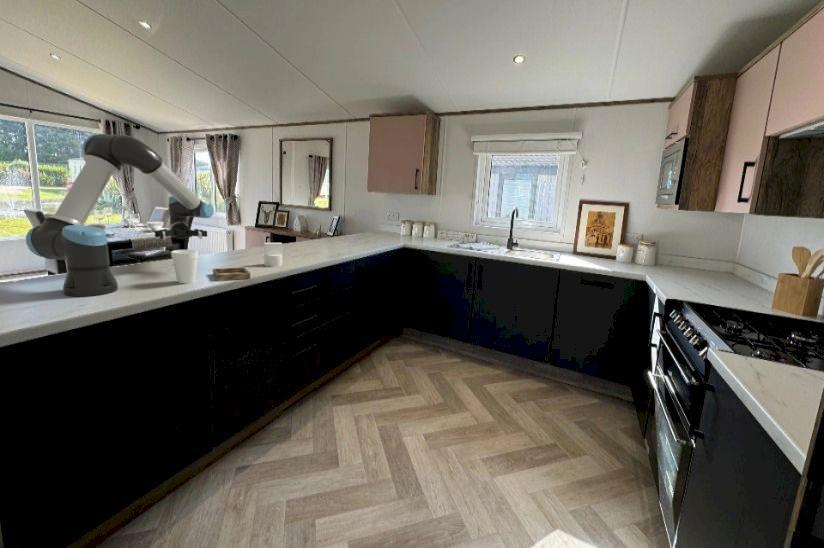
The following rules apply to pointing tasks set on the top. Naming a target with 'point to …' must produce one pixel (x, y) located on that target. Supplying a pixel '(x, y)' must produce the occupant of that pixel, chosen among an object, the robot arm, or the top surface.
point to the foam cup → (185, 265)
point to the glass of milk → (273, 254)
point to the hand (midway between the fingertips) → (183, 236)
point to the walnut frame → (231, 273)
